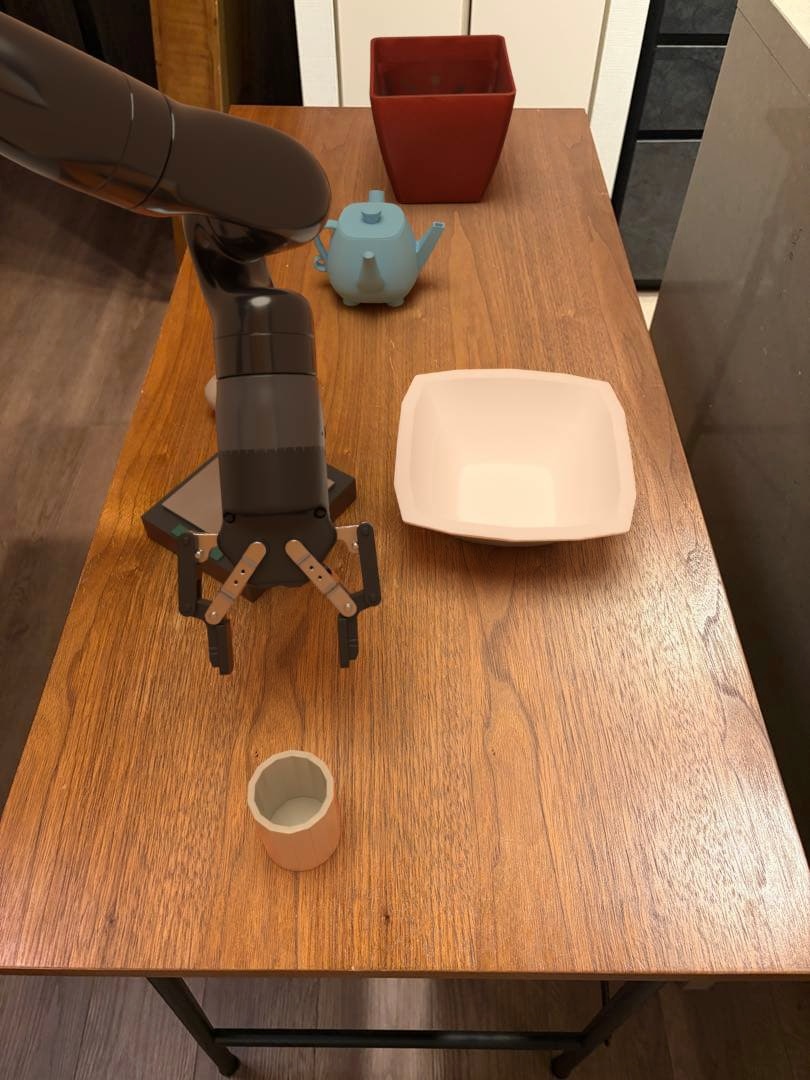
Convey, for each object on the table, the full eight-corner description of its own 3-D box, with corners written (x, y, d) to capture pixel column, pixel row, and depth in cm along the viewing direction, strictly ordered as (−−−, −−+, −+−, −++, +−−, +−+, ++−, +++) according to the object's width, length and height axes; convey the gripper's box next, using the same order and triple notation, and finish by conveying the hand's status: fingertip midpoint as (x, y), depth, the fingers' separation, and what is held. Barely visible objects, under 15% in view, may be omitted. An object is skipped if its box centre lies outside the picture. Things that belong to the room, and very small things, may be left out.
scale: (253, 602, 79) (248, 582, 76) (147, 536, 84) (139, 514, 81) (357, 498, 87) (355, 476, 85) (255, 443, 92) (250, 421, 90)
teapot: (454, 293, 109) (457, 212, 101) (371, 336, 104) (367, 254, 95) (380, 244, 117) (377, 164, 108) (299, 282, 111) (289, 201, 103)
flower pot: (373, 216, 121) (368, 94, 108) (374, 152, 134) (370, 35, 120) (506, 215, 122) (517, 93, 108) (495, 150, 134) (504, 34, 121)
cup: (307, 888, 63) (296, 851, 56) (246, 840, 65) (228, 799, 59) (357, 823, 66) (351, 780, 59) (296, 779, 68) (285, 734, 62)
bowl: (604, 431, 93) (619, 371, 87) (625, 602, 79) (645, 545, 72) (405, 423, 94) (404, 363, 88) (389, 590, 80) (388, 533, 73)
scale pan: (254, 564, 78) (253, 560, 77) (162, 508, 82) (160, 504, 82) (335, 486, 84) (335, 482, 84) (245, 437, 88) (244, 433, 88)
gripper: (156, 449, 55) (175, 690, 57) (373, 438, 56) (386, 677, 58) (181, 449, 63) (197, 662, 65) (372, 440, 64) (383, 651, 65)
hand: (286, 669), depth 61 cm, fingers open, 8 cm apart
